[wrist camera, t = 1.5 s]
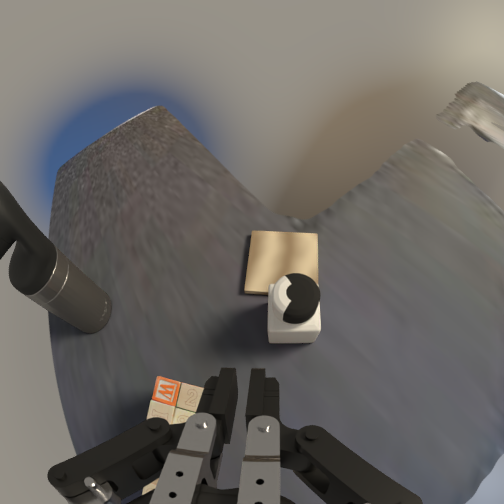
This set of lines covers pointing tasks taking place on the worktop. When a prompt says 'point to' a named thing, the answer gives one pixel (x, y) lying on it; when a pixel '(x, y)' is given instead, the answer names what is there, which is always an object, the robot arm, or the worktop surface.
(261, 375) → the robot arm
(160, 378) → the stack of blocks
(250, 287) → the maple board
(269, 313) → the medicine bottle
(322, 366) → the worktop surface
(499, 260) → the worktop surface
